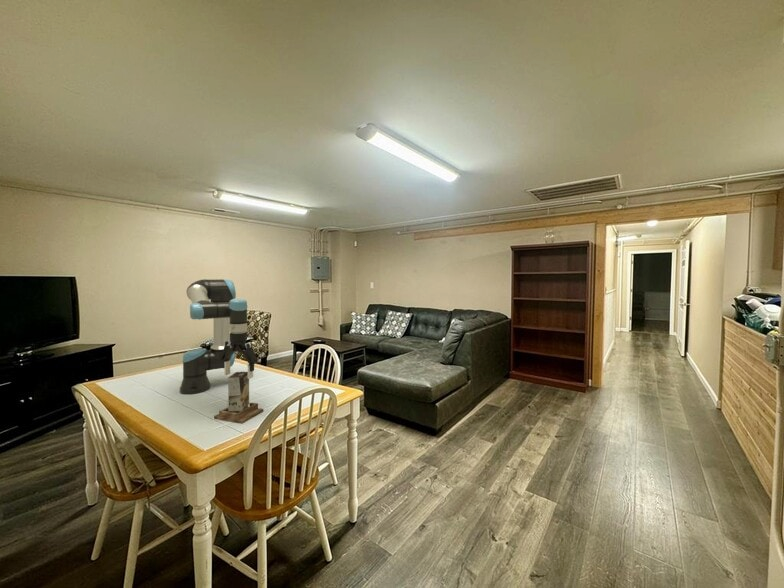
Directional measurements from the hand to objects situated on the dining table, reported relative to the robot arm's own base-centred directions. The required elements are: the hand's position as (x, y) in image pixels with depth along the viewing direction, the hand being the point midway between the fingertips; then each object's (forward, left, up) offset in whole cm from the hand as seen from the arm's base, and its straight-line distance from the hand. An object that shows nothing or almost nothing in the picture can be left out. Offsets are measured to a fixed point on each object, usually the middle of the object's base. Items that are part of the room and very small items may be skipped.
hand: (238, 376), depth 149 cm
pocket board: (0, 0, -19) cm, 19 cm away
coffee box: (0, 0, -15) cm, 15 cm away
